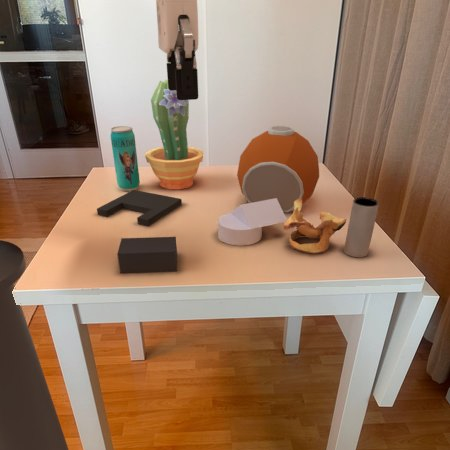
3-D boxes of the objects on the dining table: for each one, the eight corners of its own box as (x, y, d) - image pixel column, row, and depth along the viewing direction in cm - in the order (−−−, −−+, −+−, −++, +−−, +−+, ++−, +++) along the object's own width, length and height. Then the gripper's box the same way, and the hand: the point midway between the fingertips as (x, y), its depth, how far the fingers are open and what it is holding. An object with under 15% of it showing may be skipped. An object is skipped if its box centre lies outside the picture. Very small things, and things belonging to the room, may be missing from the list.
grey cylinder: (371, 257, 80) (383, 205, 74) (348, 258, 80) (358, 206, 74) (362, 246, 84) (373, 196, 78) (340, 247, 83) (349, 197, 77)
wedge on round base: (263, 220, 94) (210, 231, 89) (265, 191, 90) (210, 201, 85) (285, 236, 87) (230, 249, 82) (288, 205, 83) (231, 217, 79)
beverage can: (122, 193, 107) (113, 132, 99) (115, 187, 111) (106, 127, 103) (143, 189, 110) (137, 129, 101) (135, 183, 114) (128, 124, 105)
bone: (287, 258, 79) (291, 217, 75) (274, 235, 87) (277, 197, 83) (347, 254, 81) (355, 213, 76) (329, 232, 89) (335, 194, 84)
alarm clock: (318, 194, 107) (328, 122, 98) (311, 221, 93) (321, 140, 84) (245, 187, 112) (248, 117, 102) (228, 211, 98) (229, 134, 88)
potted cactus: (138, 190, 109) (126, 83, 95) (159, 172, 121) (151, 75, 107) (195, 196, 106) (191, 86, 92) (211, 176, 119) (209, 77, 104)
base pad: (97, 214, 96) (96, 208, 95) (134, 195, 106) (133, 189, 106) (148, 226, 91) (147, 219, 90) (181, 204, 101) (181, 198, 100)
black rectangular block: (124, 257, 79) (121, 238, 77) (177, 255, 80) (175, 236, 78) (120, 273, 74) (117, 253, 72) (176, 271, 75) (175, 251, 73)
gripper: (141, -38, 63) (153, 87, 73) (153, -53, 50) (165, 105, 59) (190, -38, 65) (196, 86, 75) (215, -51, 51) (217, 102, 61)
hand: (182, 94), depth 67 cm, fingers open, 9 cm apart
